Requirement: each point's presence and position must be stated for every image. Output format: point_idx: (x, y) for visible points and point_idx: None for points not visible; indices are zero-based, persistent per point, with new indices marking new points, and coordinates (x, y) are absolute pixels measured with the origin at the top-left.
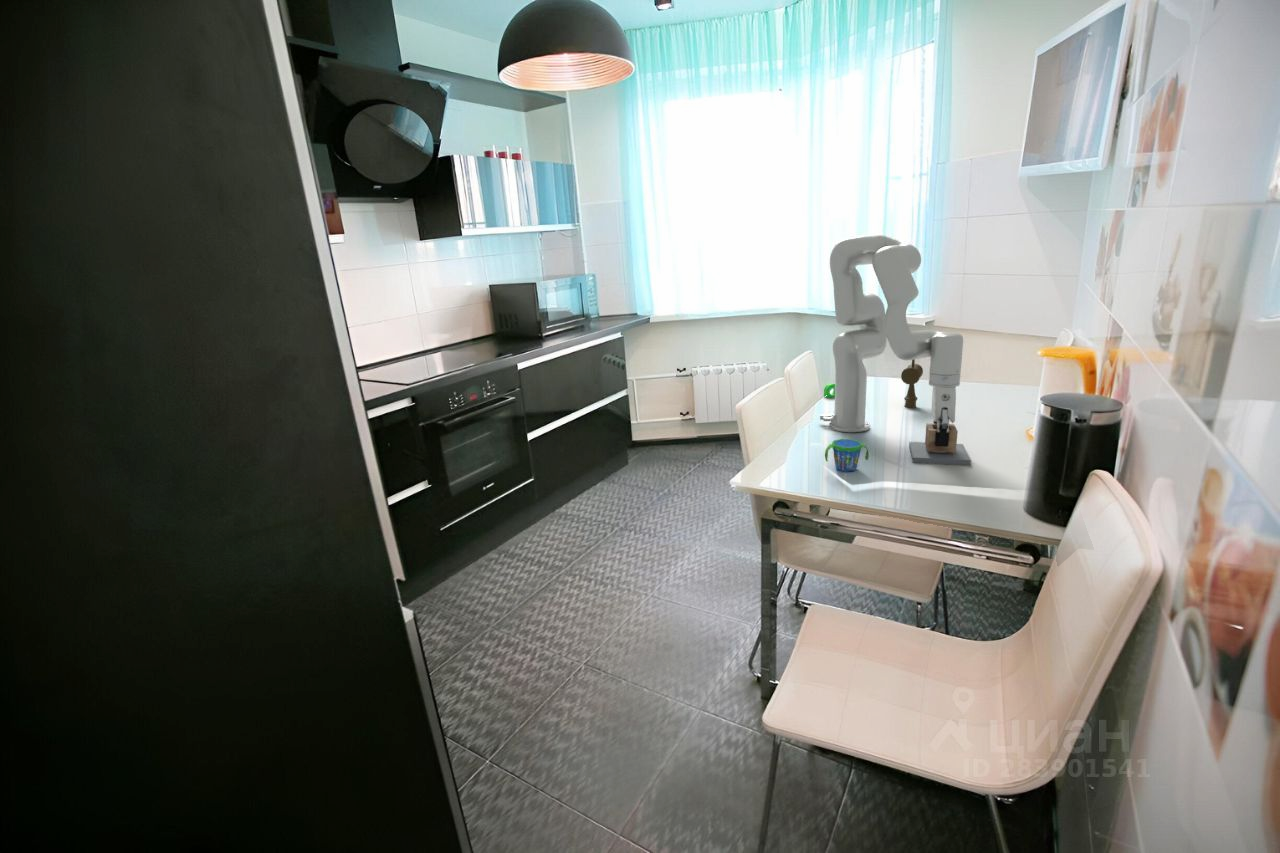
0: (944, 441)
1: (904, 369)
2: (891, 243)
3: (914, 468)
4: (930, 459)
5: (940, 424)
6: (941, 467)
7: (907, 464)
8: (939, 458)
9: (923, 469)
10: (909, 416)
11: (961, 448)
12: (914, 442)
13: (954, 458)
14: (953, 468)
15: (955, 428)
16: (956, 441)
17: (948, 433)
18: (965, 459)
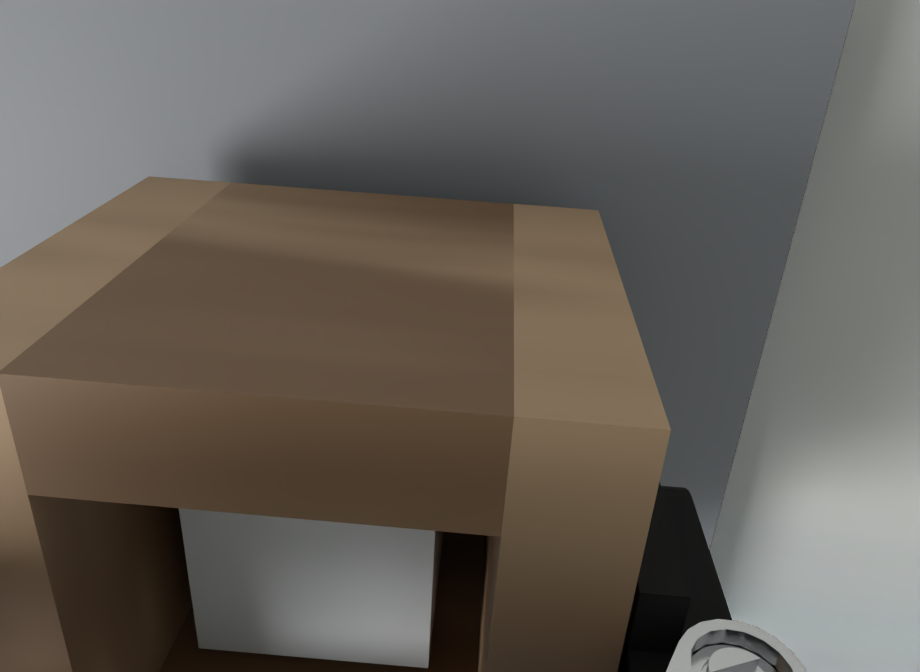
0: (691, 524)
1: None
2: None
3: (855, 626)
4: (712, 506)
5: (17, 653)
6: (853, 383)
7: None
8: (731, 426)
9: (899, 561)
10: None
11: (196, 19)
12: None
13: (745, 239)
14: (911, 254)
15: (353, 422)
16: (621, 295)
17: (687, 590)
18: (806, 80)
